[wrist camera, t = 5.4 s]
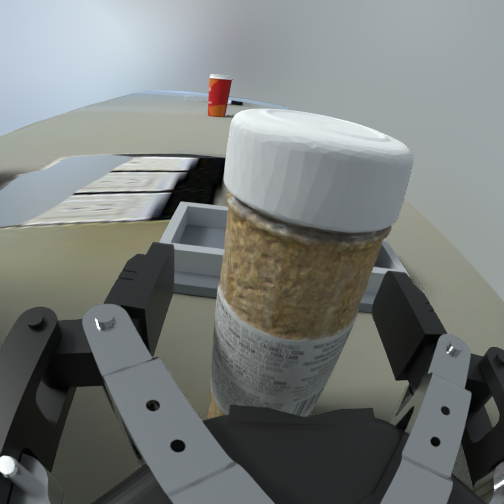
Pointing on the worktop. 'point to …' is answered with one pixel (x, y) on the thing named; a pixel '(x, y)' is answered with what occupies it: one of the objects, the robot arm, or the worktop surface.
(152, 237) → the worktop surface
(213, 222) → the grey flat tray
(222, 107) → the paper cup
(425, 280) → the worktop surface
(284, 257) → the sprinkles bottle
